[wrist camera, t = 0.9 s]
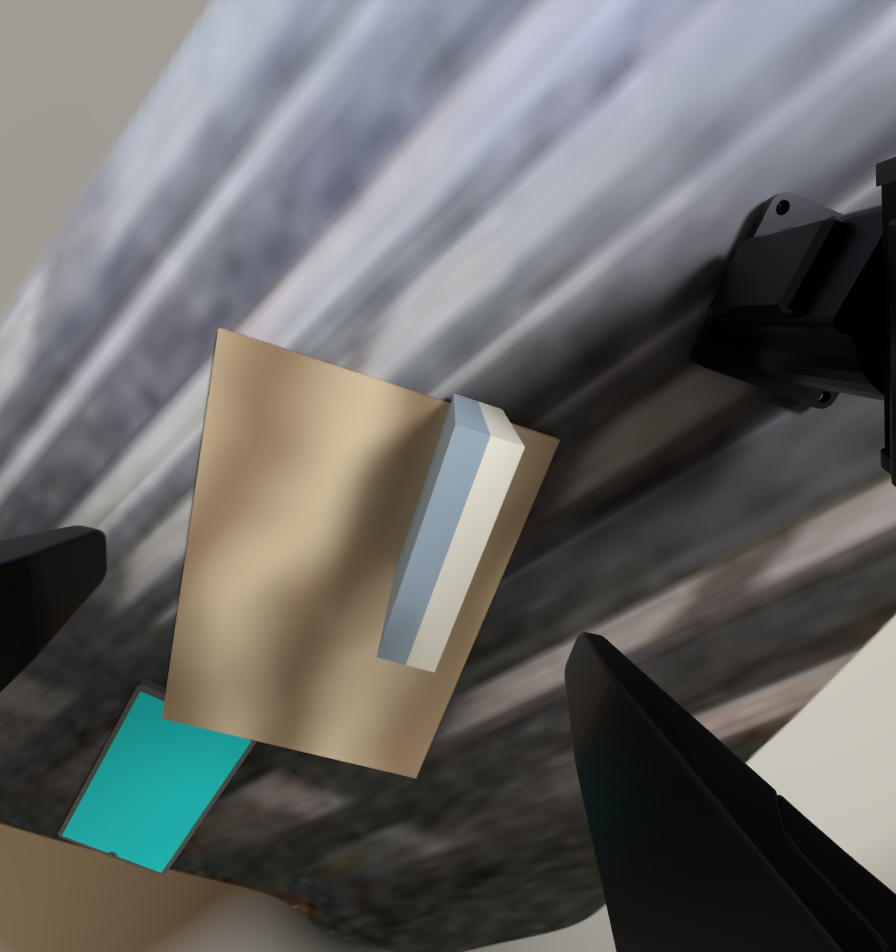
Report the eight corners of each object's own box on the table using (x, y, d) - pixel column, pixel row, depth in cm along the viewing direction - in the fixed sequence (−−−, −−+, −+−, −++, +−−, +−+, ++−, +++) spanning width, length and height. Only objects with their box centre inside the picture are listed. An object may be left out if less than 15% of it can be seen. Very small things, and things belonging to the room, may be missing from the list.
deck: (502, 409, 19) (525, 447, 13) (438, 580, 22) (434, 672, 16) (453, 393, 19) (455, 424, 13) (395, 568, 21) (376, 657, 16)
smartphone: (259, 737, 25) (163, 876, 29) (265, 724, 26) (171, 861, 30) (136, 682, 24) (54, 835, 28) (146, 670, 25) (65, 821, 29)
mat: (557, 438, 20) (559, 440, 19) (416, 771, 27) (416, 778, 26) (223, 328, 18) (218, 328, 18) (166, 712, 25) (161, 718, 25)
